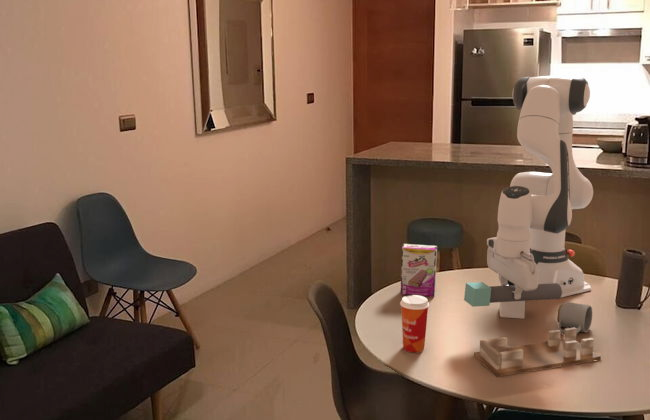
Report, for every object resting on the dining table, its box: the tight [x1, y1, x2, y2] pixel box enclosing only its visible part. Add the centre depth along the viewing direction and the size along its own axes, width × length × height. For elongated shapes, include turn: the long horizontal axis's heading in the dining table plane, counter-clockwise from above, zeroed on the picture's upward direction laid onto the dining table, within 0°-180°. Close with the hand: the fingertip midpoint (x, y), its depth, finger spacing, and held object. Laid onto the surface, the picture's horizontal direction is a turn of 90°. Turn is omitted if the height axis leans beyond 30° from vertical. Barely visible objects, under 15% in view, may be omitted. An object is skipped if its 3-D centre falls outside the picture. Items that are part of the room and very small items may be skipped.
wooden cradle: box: [473, 327, 602, 377], centre depth 174 cm, size 30×12×5 cm, turn 107°
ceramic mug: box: [556, 301, 593, 336], centre depth 191 cm, size 11×8×8 cm
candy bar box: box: [400, 243, 438, 298], centre depth 219 cm, size 11×5×16 cm, turn 78°
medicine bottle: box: [498, 280, 527, 320], centre depth 202 cm, size 7×7×12 cm
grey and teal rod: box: [463, 281, 562, 308], centre depth 186 cm, size 28×5×5 cm, turn 106°
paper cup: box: [399, 295, 430, 354], centre depth 179 cm, size 8×8×14 cm
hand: (510, 294), depth 186 cm, fingers closed on grey and teal rod, 4 cm apart
